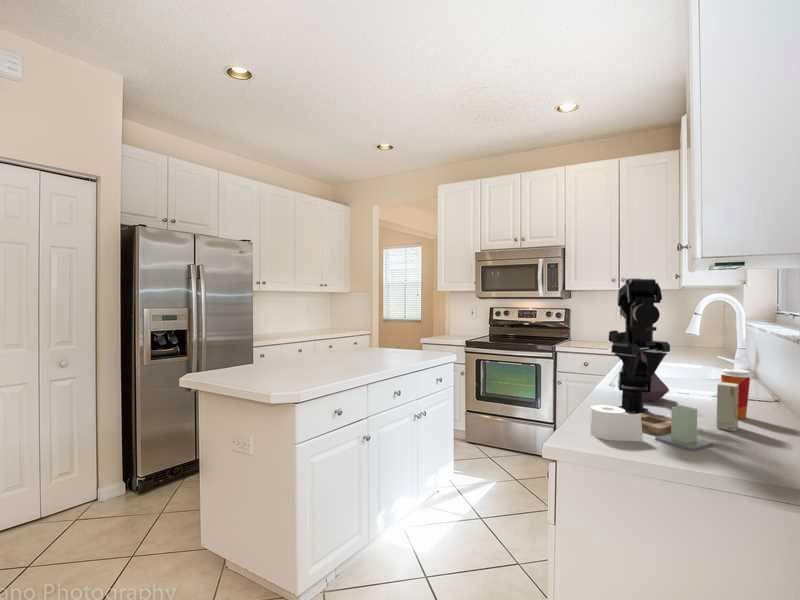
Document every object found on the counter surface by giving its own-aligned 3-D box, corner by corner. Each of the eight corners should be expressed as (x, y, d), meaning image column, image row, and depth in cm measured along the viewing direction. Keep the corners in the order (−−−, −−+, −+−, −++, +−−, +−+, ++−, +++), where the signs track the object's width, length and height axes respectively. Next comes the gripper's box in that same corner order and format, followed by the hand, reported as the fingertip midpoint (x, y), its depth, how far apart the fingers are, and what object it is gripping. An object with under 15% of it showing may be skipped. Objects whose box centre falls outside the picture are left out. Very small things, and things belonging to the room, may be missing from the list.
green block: (679, 436, 115) (680, 405, 114) (696, 441, 111) (697, 408, 111) (670, 438, 113) (671, 407, 112) (687, 443, 109) (688, 410, 109)
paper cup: (714, 412, 141) (715, 367, 141) (741, 413, 139) (743, 369, 139) (726, 419, 133) (728, 372, 133) (756, 421, 132) (757, 373, 132)
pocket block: (643, 419, 132) (643, 412, 132) (684, 430, 122) (684, 422, 122) (618, 424, 127) (618, 417, 126) (659, 436, 116) (659, 428, 116)
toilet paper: (643, 441, 112) (643, 413, 112) (597, 440, 113) (597, 412, 113) (628, 431, 121) (628, 405, 121) (585, 430, 121) (586, 404, 121)
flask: (660, 406, 147) (661, 346, 147) (609, 397, 159) (610, 341, 159) (677, 399, 158) (678, 342, 158) (628, 391, 170) (629, 338, 170)
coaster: (675, 434, 118) (675, 432, 118) (713, 445, 110) (713, 442, 110) (655, 439, 114) (655, 437, 114) (692, 451, 106) (692, 448, 106)
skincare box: (735, 432, 121) (736, 386, 121) (715, 428, 124) (717, 384, 124) (738, 426, 126) (739, 383, 125) (719, 423, 129) (720, 381, 128)
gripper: (635, 320, 139) (634, 370, 140) (595, 321, 130) (594, 375, 131) (671, 323, 130) (670, 376, 130) (631, 324, 121) (630, 382, 121)
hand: (640, 377), depth 128 cm, fingers open, 9 cm apart
